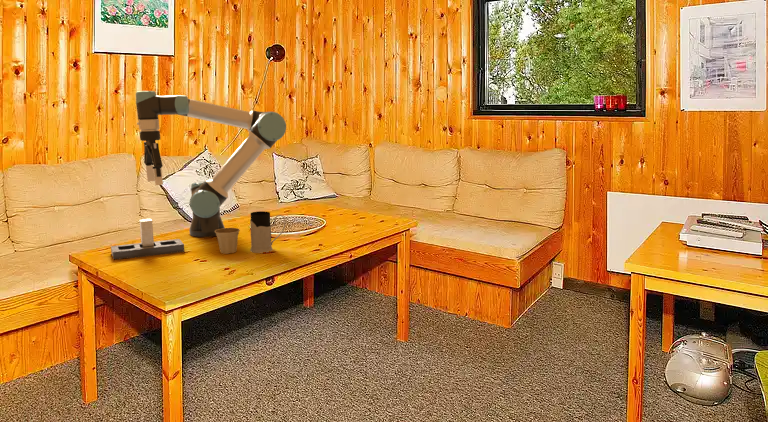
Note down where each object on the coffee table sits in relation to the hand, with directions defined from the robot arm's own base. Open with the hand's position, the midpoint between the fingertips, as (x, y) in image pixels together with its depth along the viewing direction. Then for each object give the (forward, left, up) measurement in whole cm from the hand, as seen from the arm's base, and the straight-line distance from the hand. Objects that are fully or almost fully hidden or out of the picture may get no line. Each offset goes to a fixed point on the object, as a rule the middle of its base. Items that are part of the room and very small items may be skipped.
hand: (155, 183), depth 223 cm
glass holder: (-36, +31, -25) cm, 54 cm away
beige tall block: (+6, +14, -25) cm, 29 cm away
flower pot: (-21, +27, -25) cm, 43 cm away
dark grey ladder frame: (+6, +14, -25) cm, 30 cm away
